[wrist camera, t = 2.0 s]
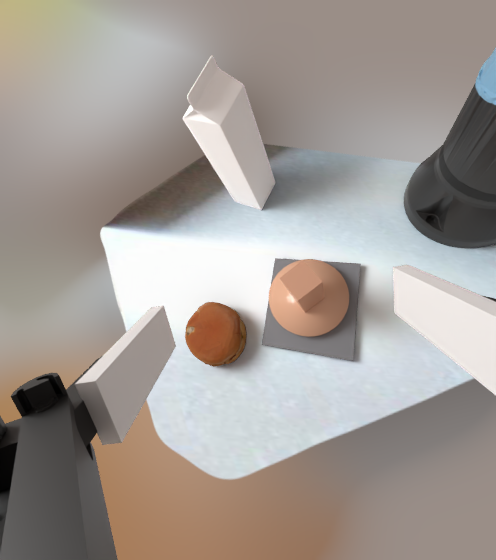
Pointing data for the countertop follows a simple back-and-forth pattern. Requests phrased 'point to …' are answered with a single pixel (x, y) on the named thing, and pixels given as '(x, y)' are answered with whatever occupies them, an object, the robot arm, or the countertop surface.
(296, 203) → the countertop surface
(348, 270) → the mat
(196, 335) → the burger
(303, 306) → the lid
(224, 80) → the milk
